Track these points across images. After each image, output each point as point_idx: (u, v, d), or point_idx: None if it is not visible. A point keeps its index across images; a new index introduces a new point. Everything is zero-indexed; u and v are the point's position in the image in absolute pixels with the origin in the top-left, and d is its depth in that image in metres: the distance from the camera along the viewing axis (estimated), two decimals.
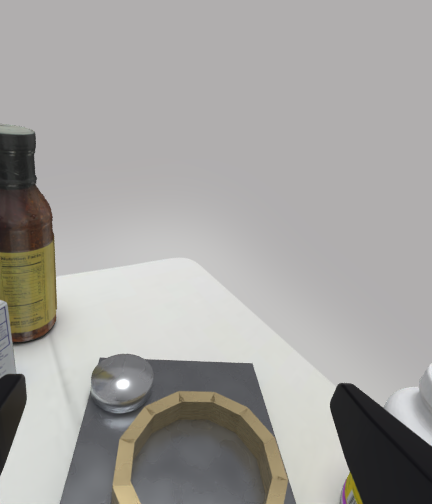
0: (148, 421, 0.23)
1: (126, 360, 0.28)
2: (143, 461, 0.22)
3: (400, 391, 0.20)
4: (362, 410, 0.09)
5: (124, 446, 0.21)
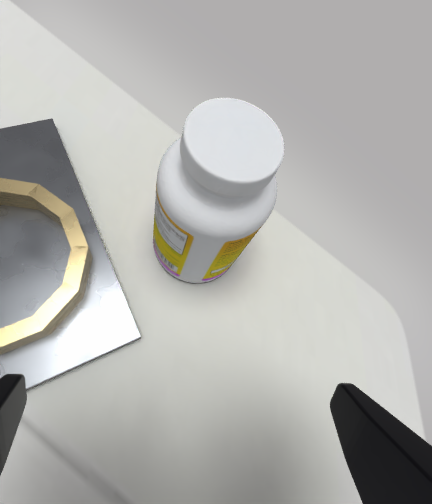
0: None
1: None
2: None
3: (175, 142, 0.17)
4: (362, 410, 0.09)
5: None
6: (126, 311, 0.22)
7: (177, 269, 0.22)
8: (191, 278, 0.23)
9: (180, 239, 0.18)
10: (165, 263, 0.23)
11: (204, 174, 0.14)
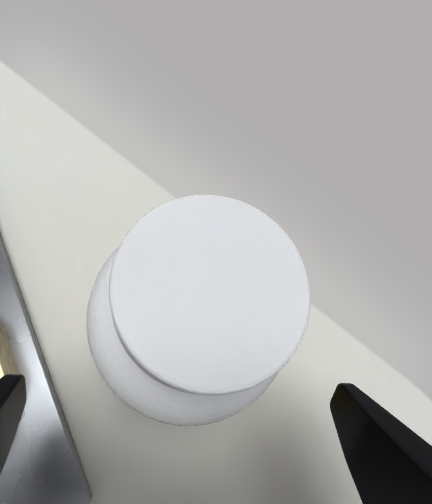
0: None
1: None
2: None
3: None
4: (362, 410, 0.09)
5: None
6: (69, 462, 0.15)
7: None
8: None
9: None
10: None
11: (151, 375, 0.07)
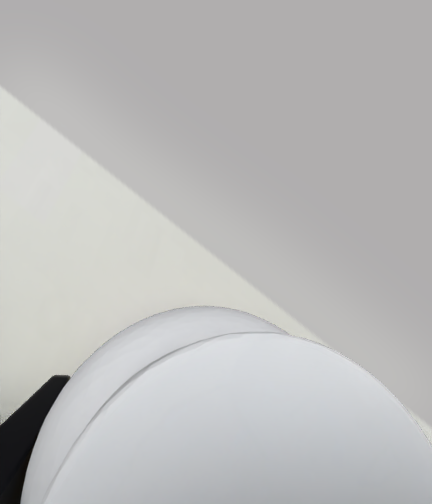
0: None
1: None
2: None
3: (79, 384, 0.06)
4: None
5: None
6: None
7: None
8: None
9: None
10: None
11: None
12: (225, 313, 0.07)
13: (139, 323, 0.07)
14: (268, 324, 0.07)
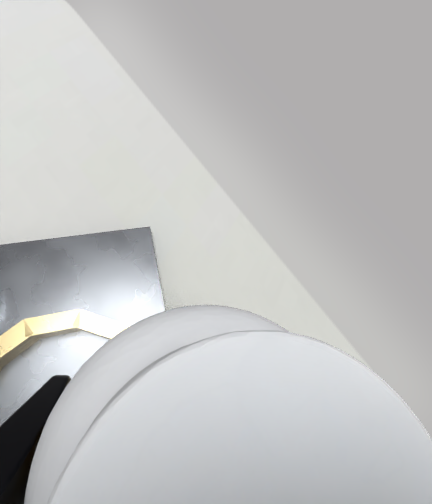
0: None
1: None
2: None
3: (82, 382, 0.06)
4: None
5: None
6: None
7: None
8: None
9: None
10: None
11: None
12: (227, 312, 0.07)
13: (142, 322, 0.07)
14: (270, 323, 0.07)
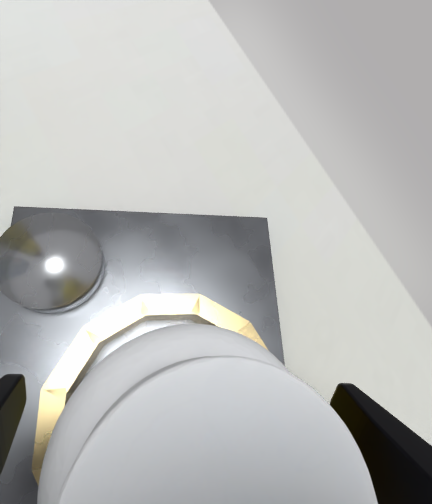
0: (89, 354, 0.14)
1: (53, 227, 0.17)
2: None
3: (85, 392, 0.07)
4: (362, 410, 0.09)
5: (49, 402, 0.13)
6: None
7: None
8: None
9: None
10: None
11: None
12: (208, 331, 0.08)
13: (135, 340, 0.08)
14: (245, 339, 0.08)
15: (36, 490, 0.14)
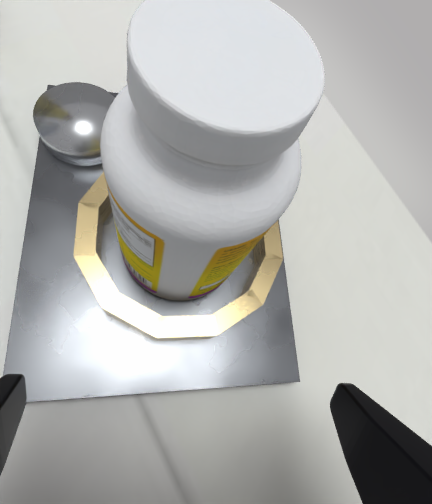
0: None
1: (83, 93, 0.20)
2: None
3: None
4: (362, 410, 0.09)
5: (85, 211, 0.17)
6: (291, 345, 0.19)
7: (151, 284, 0.15)
8: (173, 296, 0.16)
9: (146, 244, 0.11)
10: (135, 275, 0.16)
11: (169, 118, 0.07)
12: None
13: None
14: None
15: (74, 290, 0.17)
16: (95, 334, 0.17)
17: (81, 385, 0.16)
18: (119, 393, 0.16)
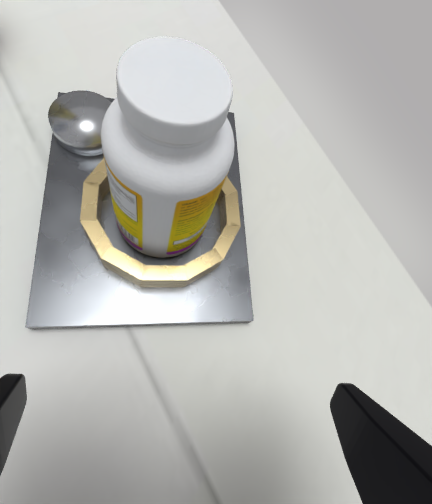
0: None
1: (86, 99, 0.25)
2: None
3: None
4: (362, 410, 0.09)
5: (88, 188, 0.22)
6: (248, 293, 0.24)
7: (138, 241, 0.21)
8: (155, 251, 0.22)
9: (131, 201, 0.16)
10: (126, 235, 0.21)
11: (139, 116, 0.12)
12: None
13: None
14: None
15: (80, 248, 0.22)
16: (96, 281, 0.22)
17: (85, 316, 0.21)
18: (114, 323, 0.21)
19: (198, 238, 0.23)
